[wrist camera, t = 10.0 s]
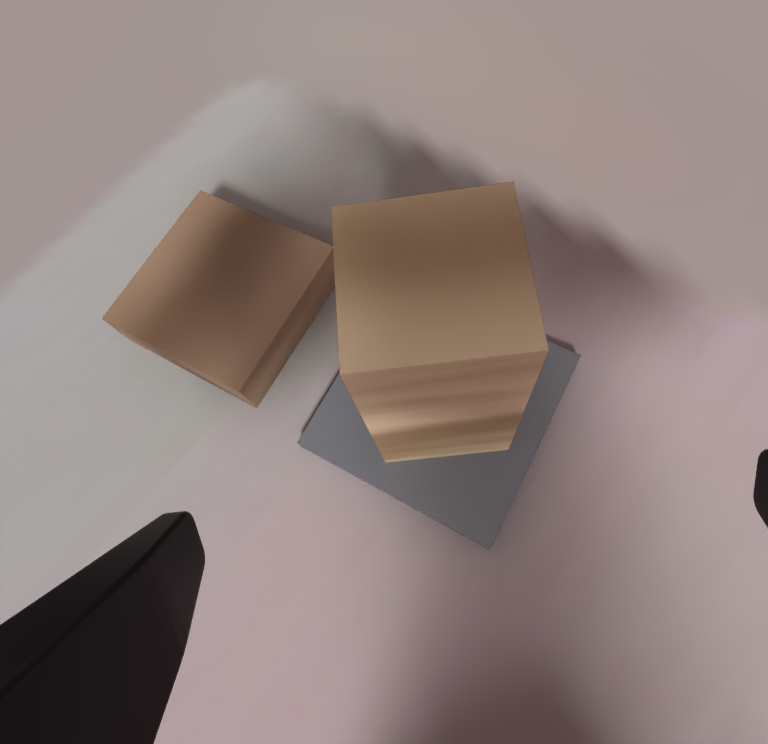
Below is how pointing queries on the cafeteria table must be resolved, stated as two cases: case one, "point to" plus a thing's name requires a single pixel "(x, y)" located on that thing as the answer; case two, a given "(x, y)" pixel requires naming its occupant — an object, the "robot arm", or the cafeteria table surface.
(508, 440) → the oak block
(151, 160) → the cafeteria table surface
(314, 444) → the charcoal pad
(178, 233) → the walnut ledge
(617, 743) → the cafeteria table surface
